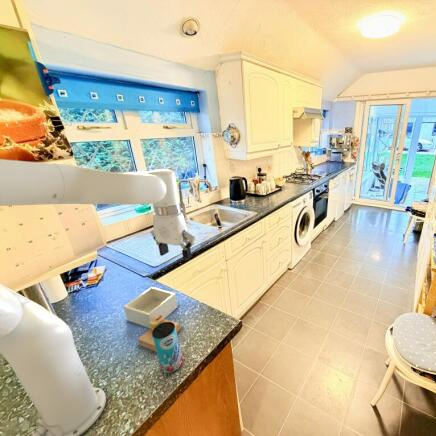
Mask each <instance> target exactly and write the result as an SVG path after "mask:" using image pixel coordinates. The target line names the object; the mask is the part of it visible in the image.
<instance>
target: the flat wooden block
mask: <svg viewBox="0 0 436 436" xmlns="http://www.w3.org/2000/svg"><path fill="white" fill-rule="evenodd" d="M163 320H164V322H172V323H174V325H175V329H176V333H177V334H178V333H179V332H180V331H181V327H180V323H179V322H176V321H172V320H169V319H166V318H165V319H163ZM137 340H138V344H139V346H140V347H143V348H144V349H145V348H146V349H148V350H151V351H153V352H156V353H157V351H156V347H155V343H154V339H153V336H152V329H151V327H150V328H148V330H146V332H144V333H143V334H142V335H141V336H140V337H138V339H137Z"/></svg>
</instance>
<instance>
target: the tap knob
mask: <svg viewBox="0 0 436 436" xmlns="http://www.w3.org/2000/svg"><path fill="white" fill-rule="evenodd" d="M161 323H164V320H163V317H162V316H161V315H160V316H156V317H153V318H152V319H151V320H150V325H151V329H152V331H153V330H154V328H155V327H156V326H158V325H159V324H161Z"/></svg>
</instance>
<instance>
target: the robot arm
mask: <svg viewBox="0 0 436 436" xmlns="http://www.w3.org/2000/svg"><path fill="white" fill-rule="evenodd" d="M178 189H179V188H178V182H177V178H176V173H175V171H173V170H172V169H168V168H165V169H164V168H160V169H152V170H150V171H127V172H116V171H108V170H101V169H96V168H92V167H86V166H79V165H74V164H73V165H71V164H60V163H48V162H38V161H37V162H36V161H25V160H14V159H2V158H0V207H6V206H7V207H8V206H10V207H11V206H12V207H13V206H39V205H40V206H42V205H124V206H125V205H129V206H130V205H131V206H132V205H151V204H152V207H153V210H154V211H153V212H154V213H153V214H152V226H153V227H152V228H153V229H152V230H150V232H149V233H150V234H151V236H152V238H153V240H154V241H155V242H156V245H157V246H158V252H159V255H160V256H161V257H163V256H165V255H167V254H168V253H169V252H170V250H169V245H171V246H180V247H181V249H182V250H181V253H182V254H181V255H182V259H183V261H184V262H185V261H186V262H187V260H189V259H191V258H192V250H191V248H192V247H193V245H194V244H195V241H196V237H195V236H194V235H192V234H191V233H189V232H188V227H187V222H186V219H185V217H184V214H183V212H182V208H181V202H180V196H179V190H178ZM74 340H75V339H74V335H73V332H72V330H71V328H70V327H69V325H68V324H67V323H66V322H65V321H64V320H63V319H62V318H60V317H58V316H57V315H56V314H54V313H53V312H51V311H50V310H48V309H46V308H45V307H44V306H42V305H41V304H40V303H39V304H38V303H37V302H35V301H33V300H31V299H30V298H27V297H26V296H23V295H22V294H20V293H18V292H16V291H15V290H13V289H11V288H9V287H8V286H6V285H4V284H2V283H0V354H1V355H2V357H3V358H4V359H5V360H6V362H7V363H8V364H9V366H10V367H11V368H12V370H13V372H14V373H15V375H16V378H17V379H18V382H19V383H20V385H21V387H22V389H23V390H24V392H25V393H26V395H27V396H28V398H29V400H30V401H31V403H32V405H33V406H34V407H35V409H36V411H37V412H38V414H39V415H40V417H41V419H40V420H39V421H38V424H39V426H37V428H36V429H35V432H34V433H33V434H31V436H81V435H82V434H83V433H85V432H86V431H87V430H89V428H91V427H92V426H93V424H95V422H96V421H97V420H98V419H99V417H100V416H101V414H102V413H103V411H104V409H105V407H106V404H107V403H106V402H107V395H106V393H105V390H103V389H102V388H100V387H93V383H92V382H91V380H90V377H89V375H88V373H87V371H86V368H85V366H84V364H83V362H82V359H81V357H80V355H79V353H78V351H77V347H76V345H75V341H74Z"/></svg>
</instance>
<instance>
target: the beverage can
mask: <svg viewBox="0 0 436 436" xmlns="http://www.w3.org/2000/svg"><path fill="white" fill-rule="evenodd" d="M152 336H153V339H154V343H155V347H156V351H157V352H156V351H155V352H156V353H157V358H158V362H159V364H160V368H161V371H162V372H163V373H164V374H168V375H169V374H172V373H175V372H177V371H178V370H179V369H180V368H181V366H182V364H183V356H182V352H181V348H180V342H179V338H178V333H176V329H175V325H174V323H172V322H164V323H161V324H159V325H158V326H156V327H155V328H154V330H153V331H152Z"/></svg>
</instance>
